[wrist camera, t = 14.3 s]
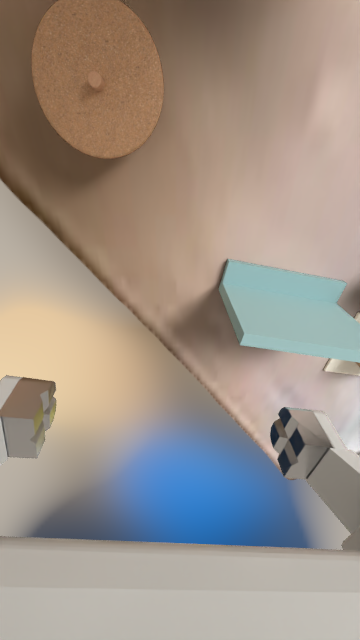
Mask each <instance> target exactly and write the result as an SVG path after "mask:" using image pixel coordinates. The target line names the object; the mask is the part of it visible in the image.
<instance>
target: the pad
mask: <svg viewBox="0 0 360 640" xmlns="http://www.w3.org/2000/svg"><path fill="white" fill-rule="evenodd" d="M354 319H355V320H356V321H357V322H358V323H359V324H360V313H359V312H358V313H357V314H356V316H355V318H354ZM324 371H328V372H336V373H343V374H350V375H357V376H360V367H359V366H358V365H357V364H356V363H355V362H352V361H345V360H338V359H332V358H330V359H329V361H328V363H327V364H326V366H325V368H324Z"/></svg>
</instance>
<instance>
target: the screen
mask: <svg viewBox="0 0 360 640" xmlns="http://www.w3.org/2000/svg"><path fill="white" fill-rule="evenodd" d="M346 285H347V283H345V282H344V281H341V280H336V279H330V278H325V277H320V276H315V275H309V274H304V273H299V272H294V271H288V270H283V269H278V268H273V267H268V266H262V265H257V264H252V263H247V262H241V261H236V260H231V259H228V260H227V263H226V266H225V270H224V273H223V276H222V280H221V283H220V286H219V292H220V294H221V297H222V300H223V302H224V305H225V307H226V310H227V313H228V315H229V318H230V321H231V323H232V326H233V328H234V331H235V334H236V336H237V339H238V341H239V344H240V345H243V346H250V347H257V348H264V349H270V350H277V351H284V352H291V353H298V354H304V355H311V356H318V357H325V358H332V359H338V360H345V361H352V362H359V363H360V324H359V323H358V322H357V321H356V320H355V319H354V318H353V317H351V316H350V315H349V314H348V313H347V312H346V311H345V310H344V309H342V308H341V307H340V306H339V305H338V304H337V301H338V299H339V297H340V296H341V294H342V292H343V290H344V288H345V286H346Z"/></svg>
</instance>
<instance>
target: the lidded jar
mask: <svg viewBox="0 0 360 640" xmlns="http://www.w3.org/2000/svg"><path fill="white" fill-rule="evenodd" d="M31 68H32V78H33V83H34V88H35V92H36V95H37V98H38V101H39V104H40V106H41V108H42V110H43V112H44V114H45V116H46V118H47V119H48V121H49V123H50V124H51V126H52V127H53V128H54V129H55V131H56V132H57V133H58V134H59V135H60V136H61V137H62V138H63V139H64V140H65V141H66V142H67V143H68V144H70V145H71V146H72V147H74V148H75V149H77V150H79V151H80V152H82V153H84V154H87V155H90V156H92V157H97V158H102V159H113V158H119V157H123V156H125V155H128V154H130V153H132V152H134V151H135V150H137V149H138V148H139V147H141V146H142V145H143V144H144V143H145V142H146V141H147V139H148V138H149V137H150V136H151V134H152V132H153V130H154V129H155V127H156V125H157V122H158V119H159V117H160V113H161V109H162V104H163V95H164V80H163V73H162V66H161V62H160V58H159V54H158V51H157V49H156V46H155V44H154V41H153V39H152V37H151V35H150V34H149V32H148V30H147V28H146V27H145V25H144V24H143V23H142V21H141V20H140V19H139V17H138V16H137V15H136V14H135V13H134V12H133V11H132V10H131V9H130V8H129V7H128V6H126V5H125V4H124V3H122V2H121V1H119V0H58V1H57V2H55V3H54V4H53V5H52V6H51V7H50V8H49V9H48V11H47V12H46V13H45V14H44V16H43V18H42V20H41V21H40V23H39V25H38V28H37V31H36V34H35V36H34V41H33V46H32V56H31Z"/></svg>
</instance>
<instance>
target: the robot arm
mask: <svg viewBox="0 0 360 640" xmlns="http://www.w3.org/2000/svg"><path fill="white" fill-rule="evenodd" d="M55 391H56V385H55V382H53V381H46V380H39V379H32V378H24V377H23V378H22V377H14V376H7V375H6V376H5V377H3V378H2V379H1V381H0V465H1V464H2V463H4V462H5V461H6V460H7V459H8V457H19V458H37V457H38V455H39V453H40V450H41V448H42V446H43V443H44V441H45V431H46V430H48V429H49V428H50V426H51V424H52V422H53V419H54V415H55V411H56V399H55V398H54V397H53V395H54V393H55ZM278 415H279V417H280V419H278V420H276V421H275V422H274V423H273V425H272V427H271V433H270V437H271V443H272V446H273V448H274V449H275V450H276V451H277V452H278V453H279V456H278V459H277V460H278V462H279V465H280V468H281V470H282V473H283V476H284V477H287V478H297V479H306V481H307V482H308V484H310V486H311V487H312V488H313V490H314V491H315V492H316V493H317V494H318V495H319V497H320V498H321V499H322V500H323V501H324V503H325V504H326V505H327V506H328V507H329V508H330V510H331V511H332V512H333V513H334V514H335V515H336V517H337V518H338V519H339V520H340V521H341V523H342V524H343V525H344V526H345V527H346V529H347V530H348V531H349V532H350V533H351V535H350V536H349V537H348V538H347V539H346V540H344V541H343V543H342V548H343V550H332V549H307V548H282V547H257V546H232V545H231V546H230V545H207V544H206V545H205V544H183V543H181V544H180V543H156V542H132V541H106V540H82V539H56V538H31V537H5V536H0V640H360V456H358V455H357V454H356V453H355V452H353V451H352V450H348V449H347V447H346V446H345V444H344V443H343V441H342V439H341V438H340V436H339V434H338V433H337V431H336V430H335V428H334V426H333V425H332V423H331V421H330V420H329V418H328V417H327V415H326V414H325V413H324V412H323V411H318V410H307V409H298V408H288V407H284V408H282V409H281V410H280V412H279V414H278Z"/></svg>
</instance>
